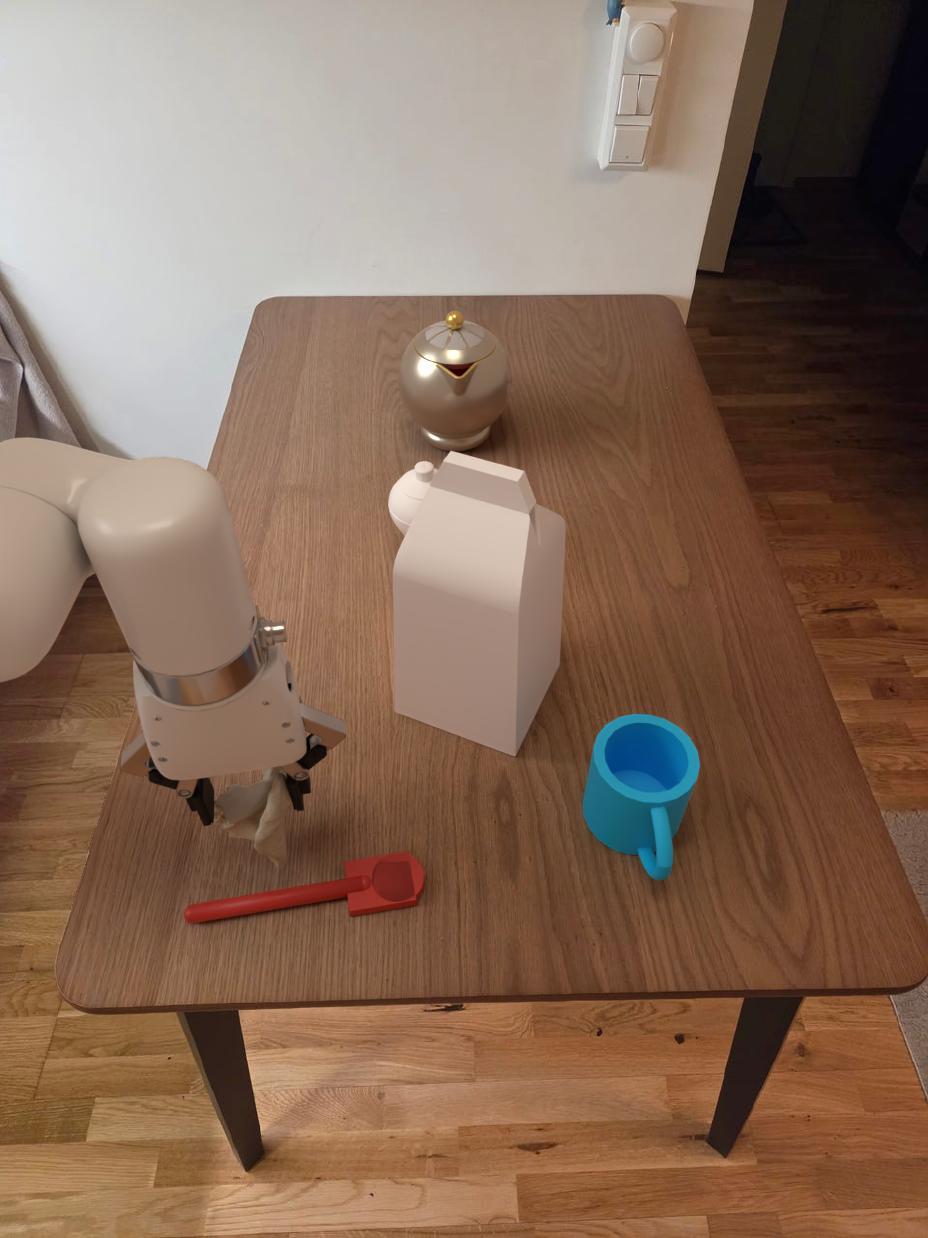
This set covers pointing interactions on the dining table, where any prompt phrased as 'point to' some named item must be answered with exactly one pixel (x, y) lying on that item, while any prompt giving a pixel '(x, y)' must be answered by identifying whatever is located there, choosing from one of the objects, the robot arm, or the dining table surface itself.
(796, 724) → the dining table surface
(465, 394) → the teapot
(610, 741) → the mug
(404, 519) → the spinning top
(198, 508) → the robot arm
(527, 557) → the milk
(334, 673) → the dining table surface
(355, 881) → the red toy shovel
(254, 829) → the bone
